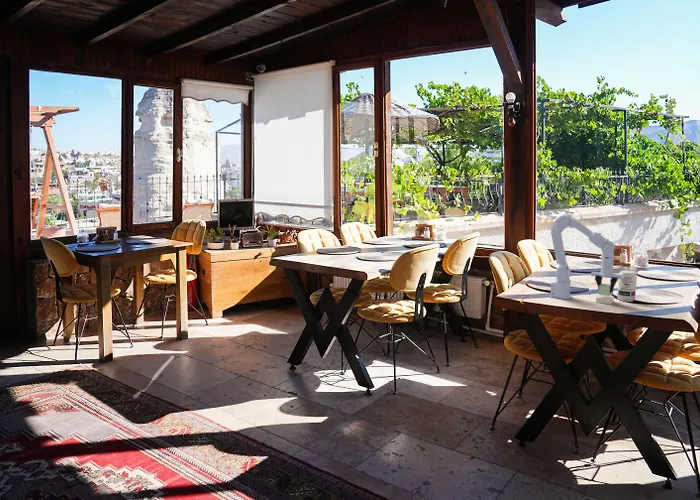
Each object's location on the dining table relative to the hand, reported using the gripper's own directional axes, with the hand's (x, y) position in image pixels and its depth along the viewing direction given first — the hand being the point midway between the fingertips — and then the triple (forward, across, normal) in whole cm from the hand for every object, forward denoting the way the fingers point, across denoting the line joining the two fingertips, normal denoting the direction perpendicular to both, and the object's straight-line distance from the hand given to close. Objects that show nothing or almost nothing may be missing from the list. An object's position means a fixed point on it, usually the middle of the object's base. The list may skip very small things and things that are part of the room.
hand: (605, 291), depth 295 cm
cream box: (+6, 0, 0) cm, 6 cm away
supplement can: (+6, +8, +10) cm, 14 cm away
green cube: (+2, 0, 0) cm, 2 cm away
